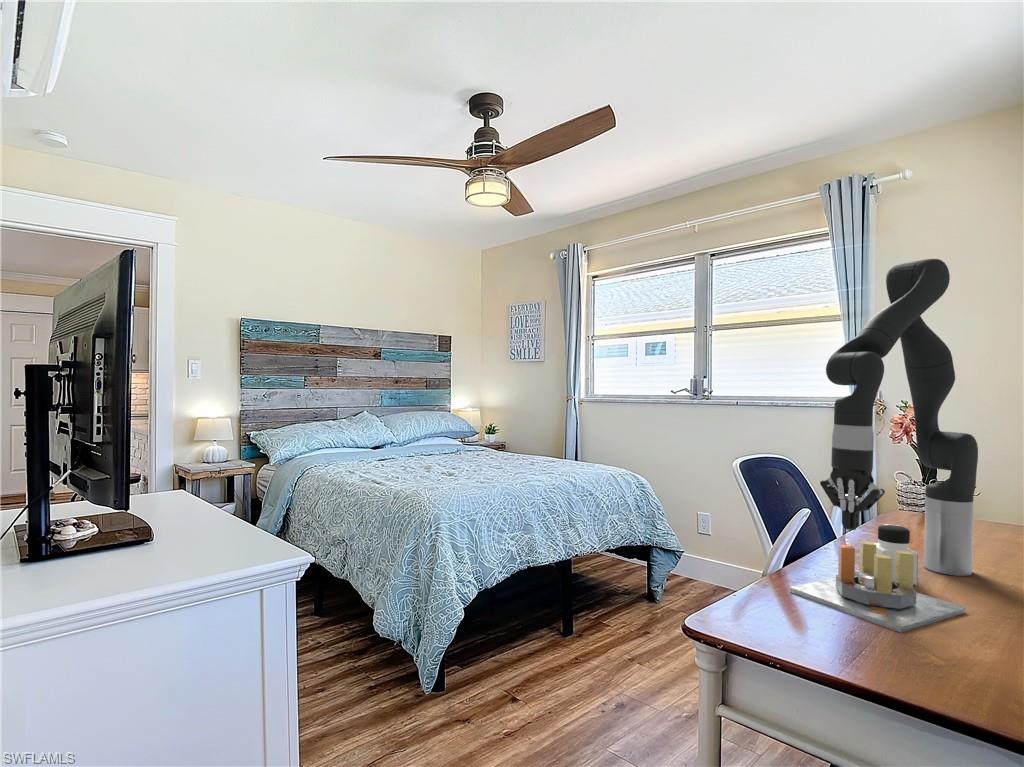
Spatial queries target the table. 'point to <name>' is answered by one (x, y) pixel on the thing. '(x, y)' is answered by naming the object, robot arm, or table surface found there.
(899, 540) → the medicine bottle
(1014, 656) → the table surface
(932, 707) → the table surface
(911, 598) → the octagonal frame
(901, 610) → the base plate
